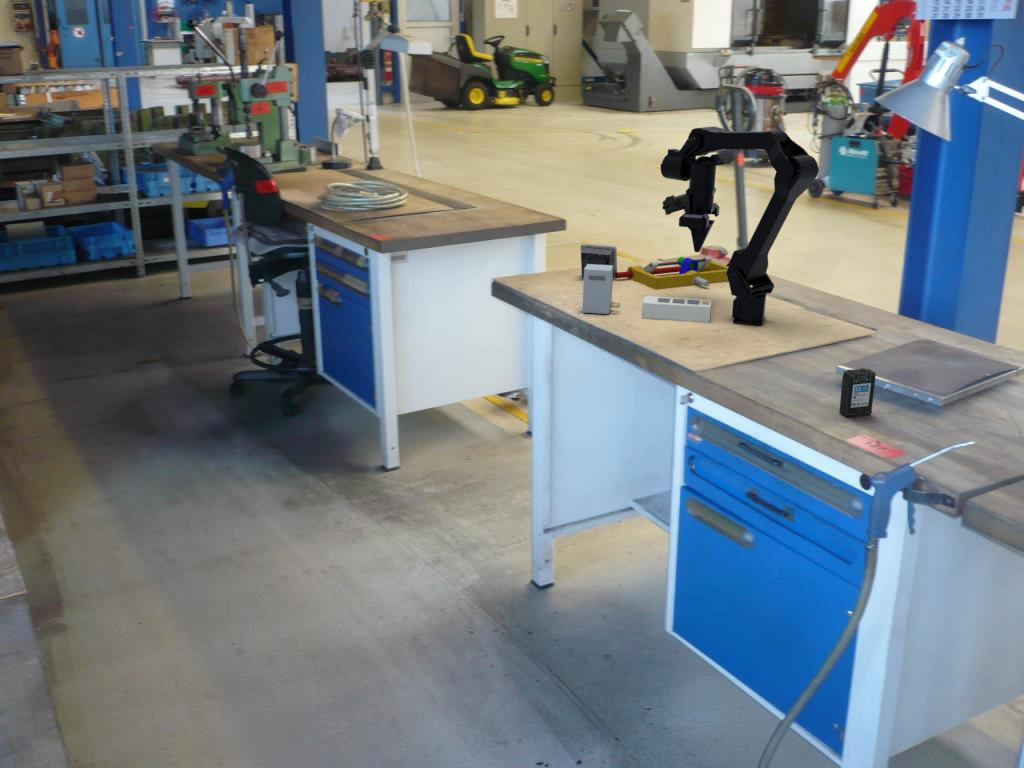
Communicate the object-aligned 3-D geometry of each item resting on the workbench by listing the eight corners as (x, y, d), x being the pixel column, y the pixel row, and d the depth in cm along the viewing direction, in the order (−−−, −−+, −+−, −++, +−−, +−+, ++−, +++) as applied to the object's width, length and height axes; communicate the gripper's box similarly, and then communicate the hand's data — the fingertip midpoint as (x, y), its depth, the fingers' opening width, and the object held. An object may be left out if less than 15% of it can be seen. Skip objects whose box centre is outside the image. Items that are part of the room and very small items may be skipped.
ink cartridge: (845, 418, 182) (850, 374, 180) (838, 413, 184) (843, 370, 182) (871, 415, 183) (876, 371, 181) (864, 411, 186) (868, 367, 183)
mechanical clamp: (613, 257, 273) (710, 248, 285) (612, 280, 275) (708, 270, 288) (652, 272, 258) (752, 262, 270) (650, 297, 260) (750, 286, 272)
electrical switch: (617, 278, 276) (618, 244, 272) (612, 285, 271) (613, 250, 267) (582, 275, 278) (582, 241, 275) (577, 281, 274) (577, 247, 270)
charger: (620, 308, 247) (622, 266, 243) (618, 314, 241) (620, 271, 238) (585, 306, 248) (587, 264, 245) (582, 312, 243) (583, 269, 240)
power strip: (711, 303, 253) (712, 288, 252) (709, 322, 237) (710, 306, 236) (647, 299, 256) (648, 284, 254) (641, 318, 240) (642, 301, 239)
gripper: (674, 176, 252) (670, 241, 257) (658, 187, 235) (654, 257, 240) (722, 179, 248) (716, 245, 253) (708, 190, 232) (703, 261, 237)
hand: (697, 251), depth 246 cm, fingers closed
